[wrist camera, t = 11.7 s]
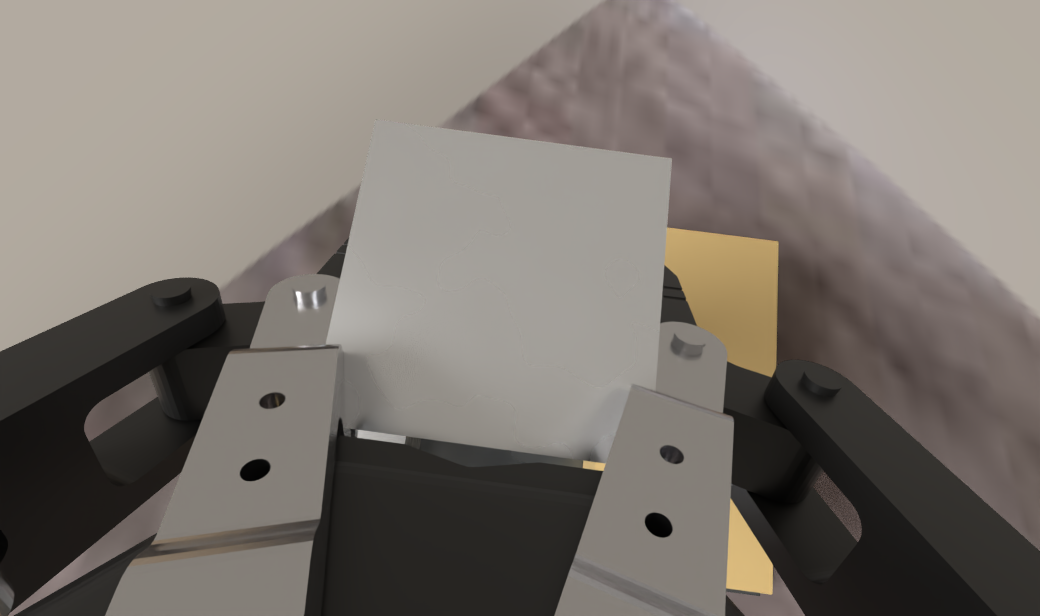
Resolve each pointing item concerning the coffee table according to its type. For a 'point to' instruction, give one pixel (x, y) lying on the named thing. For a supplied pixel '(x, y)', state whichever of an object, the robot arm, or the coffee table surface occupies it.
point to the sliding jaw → (732, 344)
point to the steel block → (501, 290)
